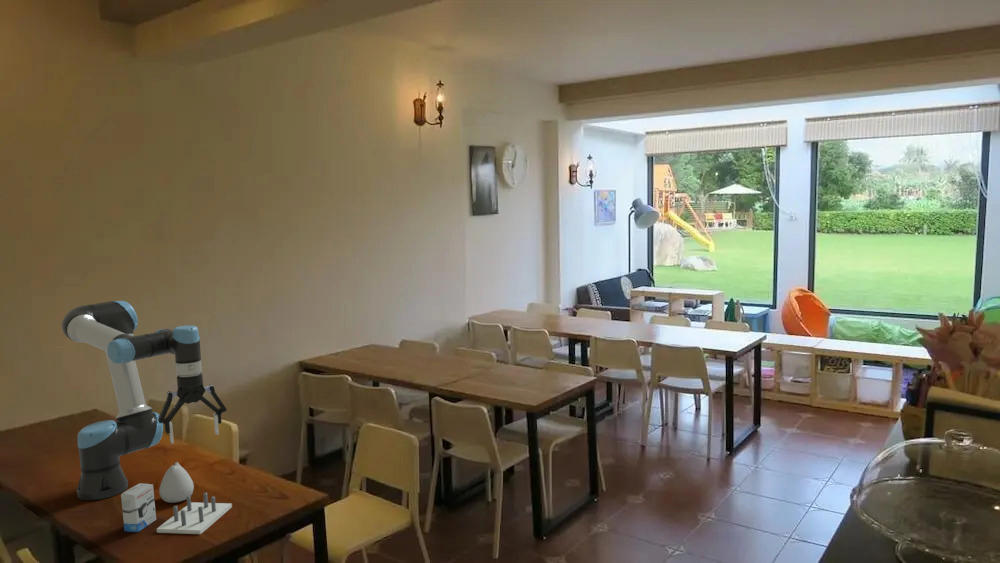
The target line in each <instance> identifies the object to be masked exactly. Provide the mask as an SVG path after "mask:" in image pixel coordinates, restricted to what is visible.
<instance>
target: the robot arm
mask: <svg viewBox="0 0 1000 563" xmlns="http://www.w3.org/2000/svg"><path fill="white" fill-rule="evenodd" d="M138 323H139V319H138V315H137V313H136V310H135V309H134V307H133V306H132V304H130V303H129V302H127V301H126V300H111V301H107V302H99V303H93V304H92V303H91V304H84V305H80V306H77V307H74V308H71V310H69V311H68V312H66V314H65V316H64V317H63V319H62V322H61V330H62V333H63V334H64V336H66V338H68V339H69V340H71V341H73V342H76V343H80V344H81V343H86V344H88V345H91V346H93V347H94V348H97V349H100V350H102V351H103V352H105V356H106V361H107V366H108V370H109V373H110V377H111V381H112V385H113V389H114V395H115V399H116V403H117V408H118V413H117V415H116V416H115V420H112V419H107V420H105V419H104V420H102V421H101V420H100V421H97V422H94V423H90V424H88V425H86V426H84V427H83V428H82V429H80V430H79V431H78V433H77V448H78V455H79V465H80V477H79V481H78V485H77V489H76V495H77V498H78V499H79V500H82V501H98V500H104V499H108V498H111V497H114V496H117V495H118V494H122V493H123V492H125V491H127V490H128V488H129V482H128V478H127V477H126V475H125V473H124V471H123V468H122V466H121V462H120V461H121V460H120V457H123V456H126V455H129V454H132V453H135V452H138V451H141V450H146V449H149V448H151V447H153V446H155V445H158V444H159V443H160V441H161V439H162V437H163V433H164V430H165V434H169V442H170V444H171V445H172V444H175V441H174V439H175V438H174V429H173V423H172V420H173V419H174V417H175V416H176V415H177V413H178V412H179V410H180V409H181V408H182V407H183V406H184V404H187V405H189V404H191V403H198V402H200V401H201V402H202V403H203V404H205V406H207V407H209V409H211V410H212V411H213V412H214V413H213V422H214V423H213V424H214V433H215V435H217V436H219V435H220V430H219V429H220V428H219V425H220V424H221V423H222V413H224V412H227V410H228V409H227V407H226V406H225V405H224V403H223V402H222V400H221V399H220V397H219V396H218V394H217V393H216V390H215V386H213V384H209V385H208V386H204V378H203V373H202V372H203V368H202V357H201V356H202V354H201V341H200V339H201V337H200V335H199V328H198V327H197V326H196V325H187V324H186V325H179V326H177V327H174V328H173V329H171V328H161V329H157V330H156V331H155V332H151V333H143V334H139V335H135V334H134V331H136V330H137V328H138V325H139V324H138ZM168 354H169V355H170V354H171V355H174V359H175V360H174V361H175V372H176V376H177V377H176V385H177V390H176V391H167V392H166V400H165V402H164V404H163V407H162V408H161V411H160V413H158V412H155V411H153V408H152V407H151V406H149V405H147V404H146V400H145V395H144V391H143V388H142V384H141V380H140V375H139V371H138V366H137V362H136V361H139V360H143V359H149V358H154V357H158V356H162V355H168ZM205 392H207V393H210V395H211V396H212V398H213V399H214V400H215V402H216V404H217V405H218V406H219V408H218V407H216V406H215V405H214V404H213V403H212V402H211V401H209V400H208V399H207V398H206V397H204V396H203V395H204V394H205ZM176 396H177V397H178V398H179V399H178V400H177V402H176V403H175V405H174V406H173V408H171V410H170V412H168V411H169V409H170V407H171V404H172V402H173V400H174V399H175V398H176ZM167 413H168V414H167Z"/></svg>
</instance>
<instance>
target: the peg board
mask: <svg viewBox="0 0 1000 563" xmlns="http://www.w3.org/2000/svg"><path fill="white" fill-rule="evenodd" d="M202 494H203V495H202V496H203V502H192V501H191V499H192V496H187V497H186V499H185V500H186V506H185V507H183V508H182V509H181V510H178V508H179V507H178V505H174V506H172V509H173V510H172V512H173V516H171V517H170V518H169V519H167V520H166V521H165V522H163V523H162V524H161V525H160V526H158V527H157V528H156V534H157V533H159V534H183V535H184V534H186V535H187V534H188V535H189V534H190V535H201V534H203V533H204V532H205V531H206V530H208V529H209V528H210V527H211V526H212V525H213V524H215V522H216V521H218V520H219V519H220V518H221V517H223V516H224V515H225V513H227V512H228V511H229V510H230V509H232V508H233V503H231V502H230V503H229V502H228V503H226V502H222V503H221V502H216V496H214V495H213V496H211V497H210V502H209V500H208V498H209V497H208V492H203V493H202Z"/></svg>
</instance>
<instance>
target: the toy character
mask: <svg viewBox="0 0 1000 563" xmlns="http://www.w3.org/2000/svg"><path fill="white" fill-rule="evenodd" d="M194 489H195V486H194V481H193V480H192V478H191V476H190V474H189V473H188V472H187V470H186V469H185V468H184V467H183V466H181V464H180V463H179V462H178V461H177V462H175V463H174V464H173V465H170V466H169V468H168V469H167V470H166V471H165V473H164V475H163V477H162V480H161V482H160V484H159V490H158V492H159V496H160V498H161V499H162V500H163V502H166V503H170V504H171V503H172V504H173V503H175V504H176V503H180V502H183V501H185V500H187V499H186V497H187V496H190V497H192V495H193V493H194Z"/></svg>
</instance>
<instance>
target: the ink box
mask: <svg viewBox="0 0 1000 563" xmlns="http://www.w3.org/2000/svg"><path fill="white" fill-rule="evenodd" d="M120 499H121V507H122V520H123V529H124V530H123V531H124V532H128V533H138V532H140V531H143V529H145V528H147V527H148V526H149V525H151V524H152V523H153V522H155V521H157V514H156V504H155V493H154V484H150V483H140V482H139V483H138V484H136V485H134V486H132V487H130V488H129V489H126V490H124V491H123V492H121V493H120Z"/></svg>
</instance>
